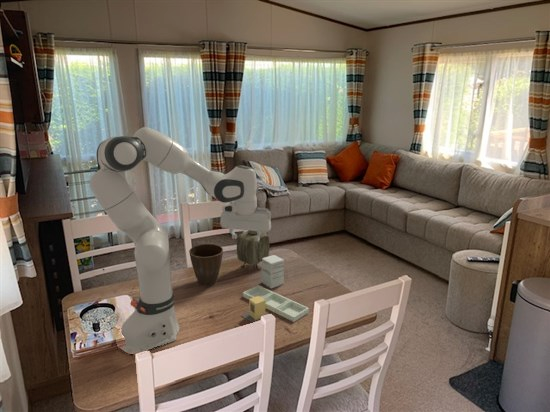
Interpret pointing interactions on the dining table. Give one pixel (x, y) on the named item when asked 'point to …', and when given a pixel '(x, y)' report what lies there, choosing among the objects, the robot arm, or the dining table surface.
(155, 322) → the robot arm
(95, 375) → the dining table surface
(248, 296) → the tray left
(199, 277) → the plant pot
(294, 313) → the tray right
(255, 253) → the tabletop clock
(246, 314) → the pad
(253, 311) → the letter block
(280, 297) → the tray middle
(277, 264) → the supplement box
